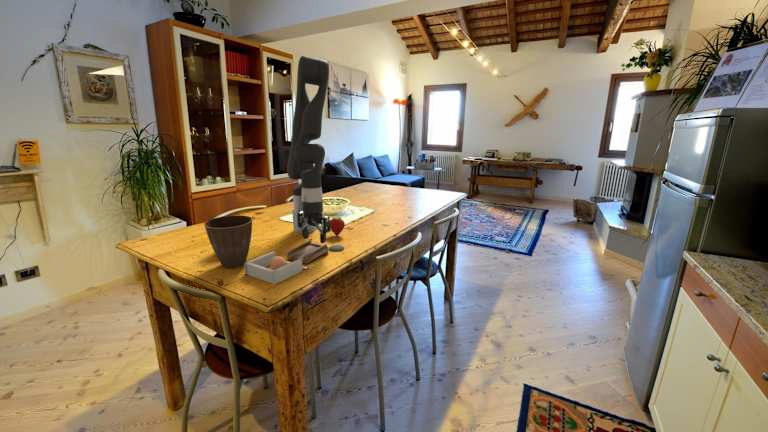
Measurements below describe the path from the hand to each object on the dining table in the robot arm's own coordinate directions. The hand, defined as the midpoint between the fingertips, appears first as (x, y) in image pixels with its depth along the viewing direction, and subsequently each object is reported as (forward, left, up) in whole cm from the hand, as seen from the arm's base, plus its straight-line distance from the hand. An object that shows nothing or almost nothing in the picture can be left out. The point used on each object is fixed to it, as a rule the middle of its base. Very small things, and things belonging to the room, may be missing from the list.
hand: (314, 240), depth 128 cm
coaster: (+4, +8, -5) cm, 10 cm away
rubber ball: (0, -18, -3) cm, 19 cm away
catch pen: (0, -20, -5) cm, 21 cm away
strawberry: (-6, +21, -5) cm, 22 cm away
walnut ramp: (0, -4, -5) cm, 6 cm away
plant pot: (-17, -23, -5) cm, 29 cm away
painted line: (0, -12, -5) cm, 13 cm away
